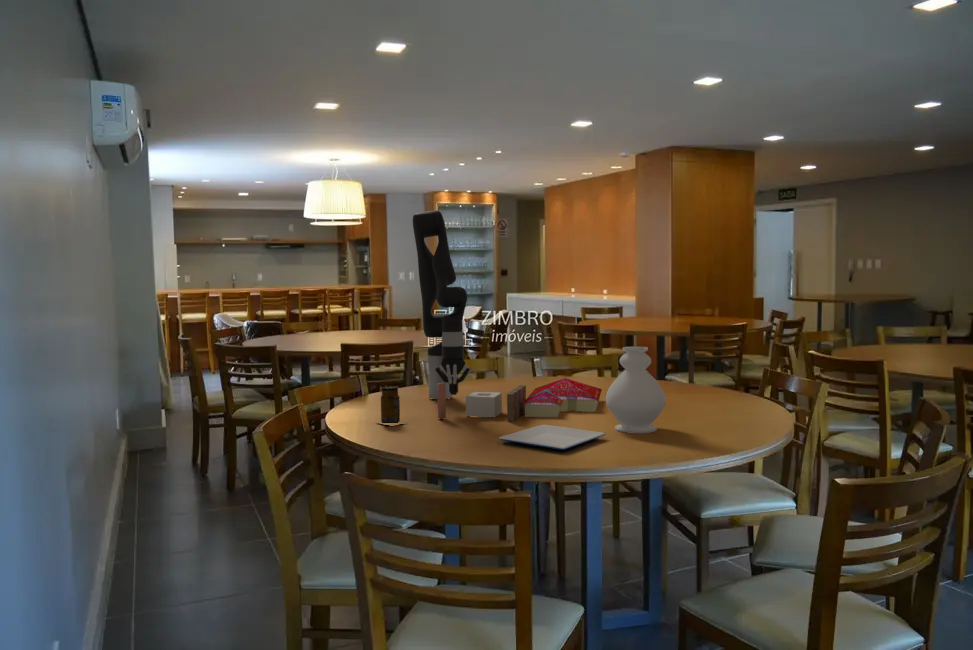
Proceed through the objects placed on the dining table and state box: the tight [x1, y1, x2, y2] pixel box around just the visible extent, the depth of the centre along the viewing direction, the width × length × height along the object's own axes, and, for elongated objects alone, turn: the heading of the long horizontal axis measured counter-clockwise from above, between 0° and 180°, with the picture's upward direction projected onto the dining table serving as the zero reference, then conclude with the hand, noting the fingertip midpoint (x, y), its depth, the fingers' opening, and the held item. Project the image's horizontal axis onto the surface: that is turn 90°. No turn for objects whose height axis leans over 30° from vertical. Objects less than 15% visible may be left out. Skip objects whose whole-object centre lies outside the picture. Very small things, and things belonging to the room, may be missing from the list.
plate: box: [498, 424, 607, 451], centre depth 209 cm, size 22×22×2 cm
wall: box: [506, 384, 527, 423], centre depth 248 cm, size 20×2×9 cm, turn 165°
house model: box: [521, 377, 603, 418], centre depth 262 cm, size 38×25×10 cm
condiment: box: [380, 385, 401, 423], centre depth 239 cm, size 7×8×12 cm
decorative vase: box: [605, 346, 667, 434], centre depth 223 cm, size 18×18×25 cm
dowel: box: [437, 383, 447, 419], centre depth 245 cm, size 3×3×12 cm
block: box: [465, 391, 503, 419], centre depth 251 cm, size 10×10×7 cm
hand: (453, 394), depth 253 cm, fingers closed
